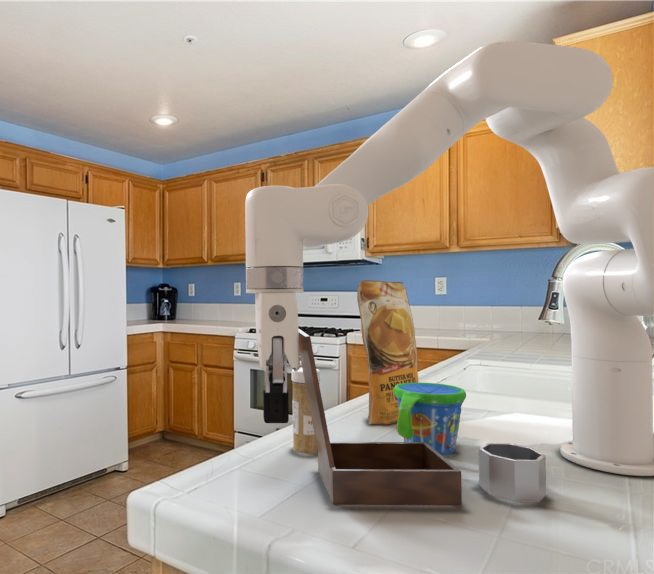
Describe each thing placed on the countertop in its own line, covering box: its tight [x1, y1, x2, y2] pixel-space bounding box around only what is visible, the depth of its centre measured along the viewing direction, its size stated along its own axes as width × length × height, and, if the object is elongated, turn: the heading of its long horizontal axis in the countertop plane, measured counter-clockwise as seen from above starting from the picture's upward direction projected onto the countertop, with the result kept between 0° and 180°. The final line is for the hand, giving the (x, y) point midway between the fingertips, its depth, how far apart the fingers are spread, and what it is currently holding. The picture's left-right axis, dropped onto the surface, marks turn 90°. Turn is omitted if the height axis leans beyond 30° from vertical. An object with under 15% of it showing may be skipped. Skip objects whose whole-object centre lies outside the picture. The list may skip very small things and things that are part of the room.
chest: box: [317, 441, 463, 507], centre depth 64 cm, size 15×11×5 cm
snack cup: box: [394, 382, 467, 456], centre depth 80 cm, size 16×10×10 cm
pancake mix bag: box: [356, 279, 419, 425], centre depth 100 cm, size 7×19×28 cm, turn 125°
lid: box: [298, 328, 335, 468], centre depth 64 cm, size 16×11×1 cm
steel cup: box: [478, 442, 547, 503], centre depth 62 cm, size 7×7×6 cm
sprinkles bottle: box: [291, 367, 321, 455], centre depth 79 cm, size 5×5×14 cm
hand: (275, 421), depth 65 cm, fingers closed
